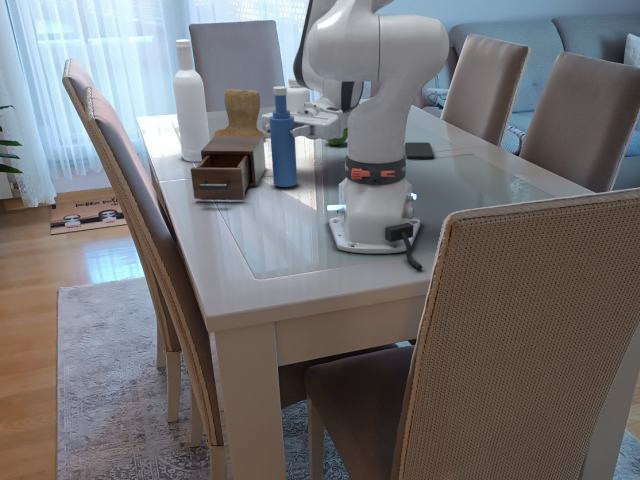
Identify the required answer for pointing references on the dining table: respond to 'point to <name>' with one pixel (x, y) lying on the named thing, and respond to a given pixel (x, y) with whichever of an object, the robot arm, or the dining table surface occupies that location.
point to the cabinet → (240, 152)
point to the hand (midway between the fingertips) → (280, 131)
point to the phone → (418, 150)
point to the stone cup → (241, 113)
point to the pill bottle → (296, 95)
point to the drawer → (221, 176)
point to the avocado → (340, 140)
